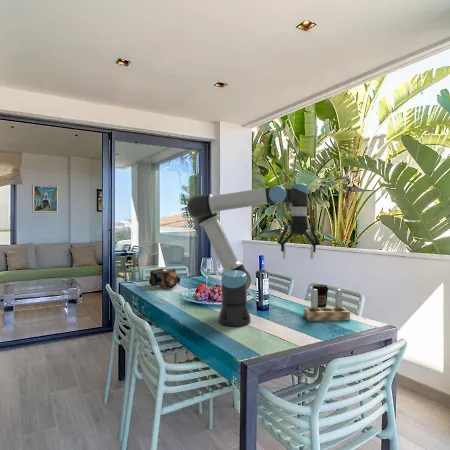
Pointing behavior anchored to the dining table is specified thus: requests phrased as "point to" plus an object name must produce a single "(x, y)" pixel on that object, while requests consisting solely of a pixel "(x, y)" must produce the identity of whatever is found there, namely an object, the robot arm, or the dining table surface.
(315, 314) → the hole block
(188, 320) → the dining table surface
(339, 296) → the peg right
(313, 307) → the peg
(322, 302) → the coffee cup
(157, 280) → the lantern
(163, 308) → the dining table surface
